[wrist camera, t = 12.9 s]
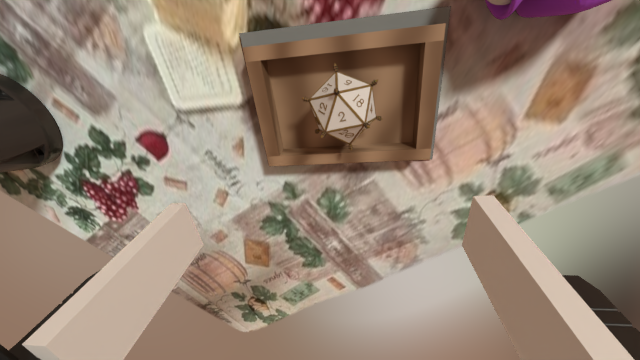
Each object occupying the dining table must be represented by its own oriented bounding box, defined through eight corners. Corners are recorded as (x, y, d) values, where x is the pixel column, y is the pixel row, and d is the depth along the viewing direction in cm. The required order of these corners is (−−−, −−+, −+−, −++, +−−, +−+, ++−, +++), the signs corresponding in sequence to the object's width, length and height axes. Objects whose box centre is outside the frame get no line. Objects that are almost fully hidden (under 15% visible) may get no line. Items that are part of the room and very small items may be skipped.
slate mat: (270, 165, 40) (269, 166, 40) (240, 33, 31) (239, 33, 31) (431, 158, 36) (432, 159, 36) (449, 6, 28) (450, 6, 27)
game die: (359, 93, 36) (411, 123, 29) (316, 137, 36) (358, 176, 30) (328, 39, 29) (386, 63, 22) (276, 94, 30) (318, 133, 23)
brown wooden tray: (275, 156, 39) (269, 166, 36) (252, 46, 32) (242, 47, 29) (423, 148, 36) (429, 159, 33) (436, 24, 28) (445, 23, 25)
